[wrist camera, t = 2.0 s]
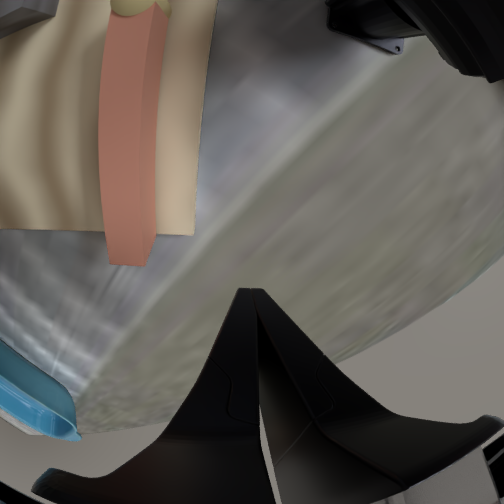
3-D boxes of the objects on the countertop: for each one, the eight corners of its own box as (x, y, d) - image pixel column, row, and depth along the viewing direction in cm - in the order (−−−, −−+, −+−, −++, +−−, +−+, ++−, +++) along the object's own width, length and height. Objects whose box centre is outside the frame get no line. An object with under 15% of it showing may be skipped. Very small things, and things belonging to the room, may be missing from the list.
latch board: (222, -23, 11) (224, -61, 6) (195, 226, 22) (188, 270, 17) (-10, 30, 8) (-51, 29, 3) (-7, 221, 18) (-40, 252, 13)
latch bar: (135, 0, 10) (115, -21, 7) (174, -3, 11) (163, -27, 7) (125, 234, 19) (107, 265, 16) (157, 235, 20) (145, 268, 16)
